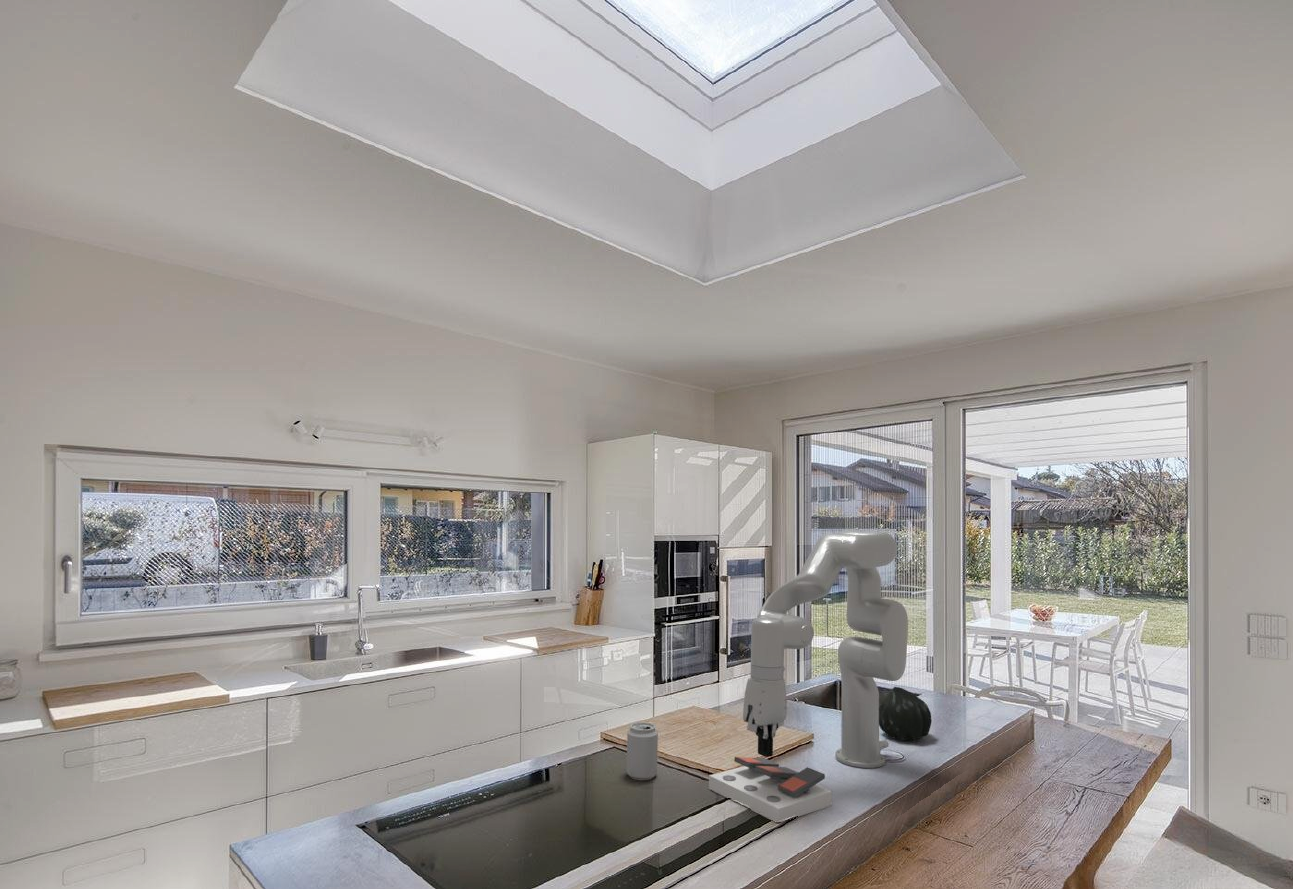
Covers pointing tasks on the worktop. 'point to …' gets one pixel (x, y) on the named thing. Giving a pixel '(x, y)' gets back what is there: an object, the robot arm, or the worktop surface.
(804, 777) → the rocker
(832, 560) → the robot arm
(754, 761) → the rocker
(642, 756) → the can
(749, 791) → the rocker switch panel
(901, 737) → the squash
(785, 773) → the rocker middle
